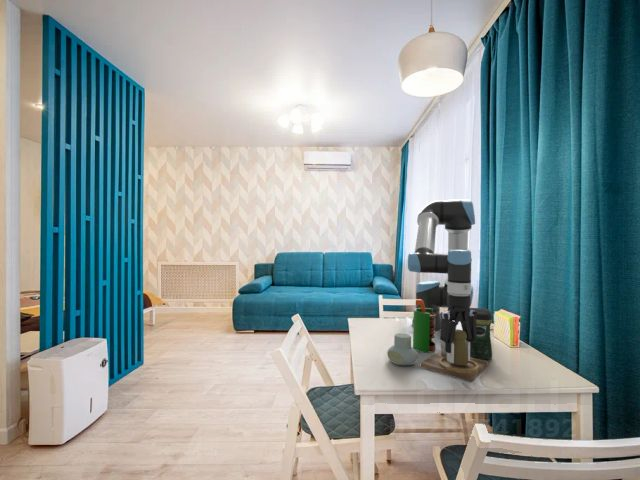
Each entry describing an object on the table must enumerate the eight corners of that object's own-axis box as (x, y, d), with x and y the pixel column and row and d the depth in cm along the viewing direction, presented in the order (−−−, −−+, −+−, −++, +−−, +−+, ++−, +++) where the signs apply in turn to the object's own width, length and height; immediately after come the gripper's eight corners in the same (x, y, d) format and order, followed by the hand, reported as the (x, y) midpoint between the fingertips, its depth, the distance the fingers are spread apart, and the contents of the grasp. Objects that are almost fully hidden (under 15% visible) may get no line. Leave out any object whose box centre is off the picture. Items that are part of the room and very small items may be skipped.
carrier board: (441, 353, 126) (441, 334, 126) (488, 365, 114) (488, 344, 114) (420, 366, 113) (420, 345, 113) (471, 381, 101) (471, 358, 101)
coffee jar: (491, 354, 125) (491, 307, 125) (493, 362, 118) (493, 311, 117) (463, 351, 129) (464, 305, 128) (464, 357, 121) (464, 309, 121)
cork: (459, 366, 107) (460, 333, 106) (445, 360, 112) (445, 329, 112) (471, 363, 109) (472, 331, 109) (457, 357, 115) (457, 326, 115)
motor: (437, 353, 126) (437, 303, 126) (413, 351, 128) (414, 302, 127) (433, 345, 136) (434, 298, 136) (411, 343, 138) (412, 297, 137)
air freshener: (383, 360, 118) (383, 333, 118) (397, 355, 123) (398, 330, 123) (407, 370, 110) (407, 341, 109) (422, 364, 115) (422, 337, 114)
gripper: (443, 297, 104) (442, 368, 104) (489, 294, 110) (488, 361, 110) (428, 293, 111) (428, 359, 111) (473, 291, 117) (472, 354, 117)
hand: (458, 360), depth 111 cm, fingers closed on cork, 6 cm apart
